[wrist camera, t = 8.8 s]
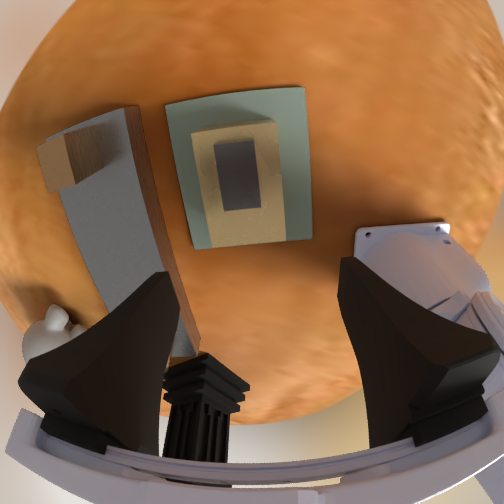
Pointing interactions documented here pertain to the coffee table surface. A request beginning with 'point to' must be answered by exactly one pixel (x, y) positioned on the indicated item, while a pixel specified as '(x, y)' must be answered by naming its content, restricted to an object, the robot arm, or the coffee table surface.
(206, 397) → the chess piece
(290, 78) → the coffee table surface
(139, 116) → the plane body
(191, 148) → the rubber mat
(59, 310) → the chubby cartoon animal
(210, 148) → the pale yellow block
